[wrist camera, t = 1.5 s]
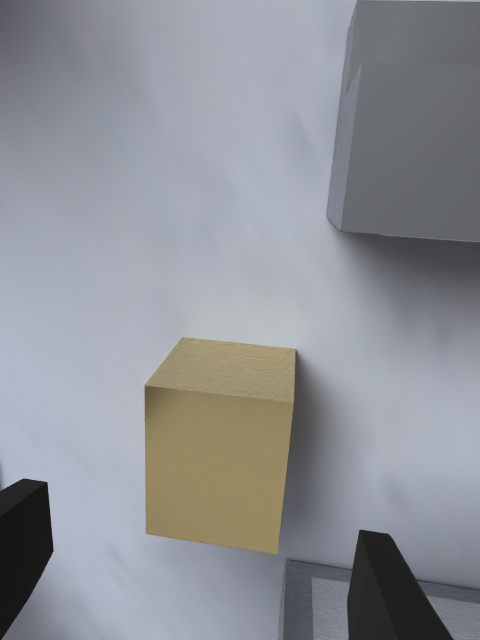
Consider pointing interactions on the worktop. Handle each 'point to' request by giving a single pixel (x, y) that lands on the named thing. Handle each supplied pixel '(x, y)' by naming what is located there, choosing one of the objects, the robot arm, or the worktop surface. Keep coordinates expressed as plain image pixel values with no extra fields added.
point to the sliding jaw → (331, 604)
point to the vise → (409, 122)
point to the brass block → (219, 443)
